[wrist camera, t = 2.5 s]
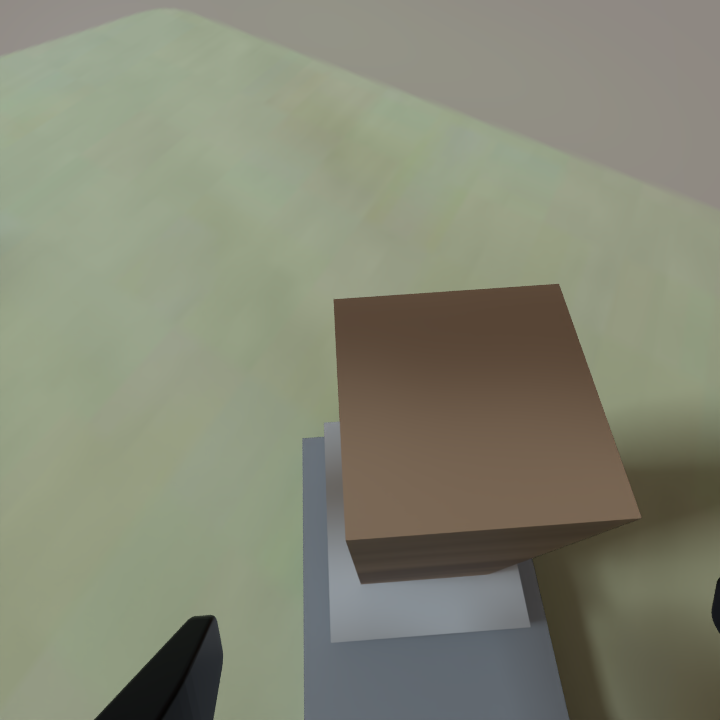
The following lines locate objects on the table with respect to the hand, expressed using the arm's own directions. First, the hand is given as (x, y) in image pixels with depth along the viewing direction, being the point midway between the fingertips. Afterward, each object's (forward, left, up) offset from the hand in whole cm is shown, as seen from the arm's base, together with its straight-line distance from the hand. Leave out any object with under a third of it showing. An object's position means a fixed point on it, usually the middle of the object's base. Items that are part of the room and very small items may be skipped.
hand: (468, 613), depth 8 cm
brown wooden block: (+3, -1, -8) cm, 8 cm away
